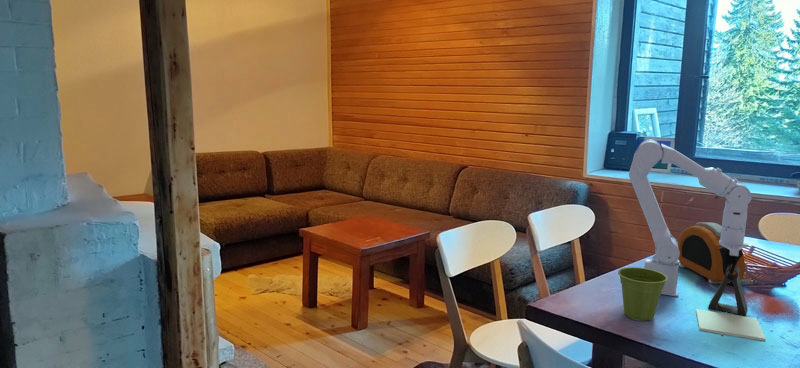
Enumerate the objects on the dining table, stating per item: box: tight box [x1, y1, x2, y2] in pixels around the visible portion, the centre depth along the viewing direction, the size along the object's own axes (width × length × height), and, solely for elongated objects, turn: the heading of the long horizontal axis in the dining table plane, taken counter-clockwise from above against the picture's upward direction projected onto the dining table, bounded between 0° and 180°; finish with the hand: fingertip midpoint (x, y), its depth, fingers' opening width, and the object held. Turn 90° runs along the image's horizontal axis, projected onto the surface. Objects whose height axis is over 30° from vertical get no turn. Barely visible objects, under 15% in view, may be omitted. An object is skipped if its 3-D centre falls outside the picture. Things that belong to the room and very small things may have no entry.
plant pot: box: [617, 266, 668, 322], centre depth 154 cm, size 12×12×11 cm
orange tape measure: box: [676, 221, 746, 284], centre depth 190 cm, size 23×9×17 cm, turn 6°
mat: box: [695, 308, 766, 342], centre depth 151 cm, size 14×14×1 cm
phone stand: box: [707, 264, 749, 317], centre depth 161 cm, size 9×6×12 cm, turn 56°
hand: (727, 274), depth 168 cm, fingers closed
